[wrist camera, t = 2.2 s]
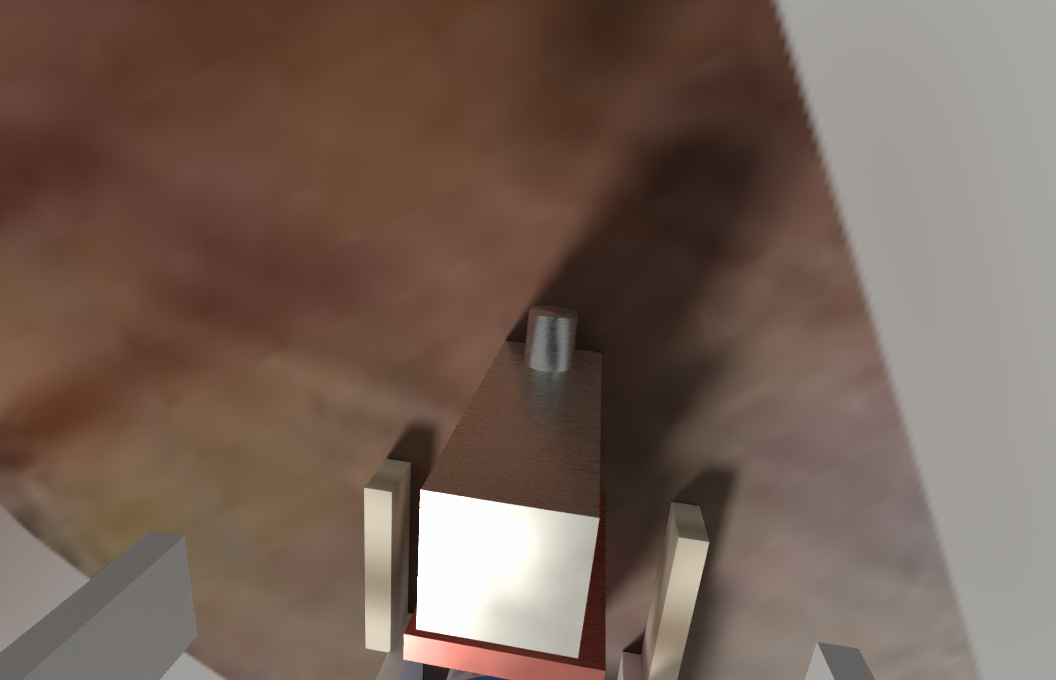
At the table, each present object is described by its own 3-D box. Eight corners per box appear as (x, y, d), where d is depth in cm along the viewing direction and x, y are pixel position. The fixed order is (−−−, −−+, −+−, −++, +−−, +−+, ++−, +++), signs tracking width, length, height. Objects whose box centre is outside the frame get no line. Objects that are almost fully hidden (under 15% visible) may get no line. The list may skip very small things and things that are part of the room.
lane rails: (386, 458, 25) (364, 487, 23) (699, 506, 24) (709, 542, 21) (384, 608, 28) (365, 648, 26) (665, 659, 26) (671, 705, 24)
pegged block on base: (484, 290, 22) (377, 402, 12) (633, 308, 21) (661, 442, 11) (471, 491, 25) (377, 722, 15) (602, 511, 24) (600, 768, 14)
